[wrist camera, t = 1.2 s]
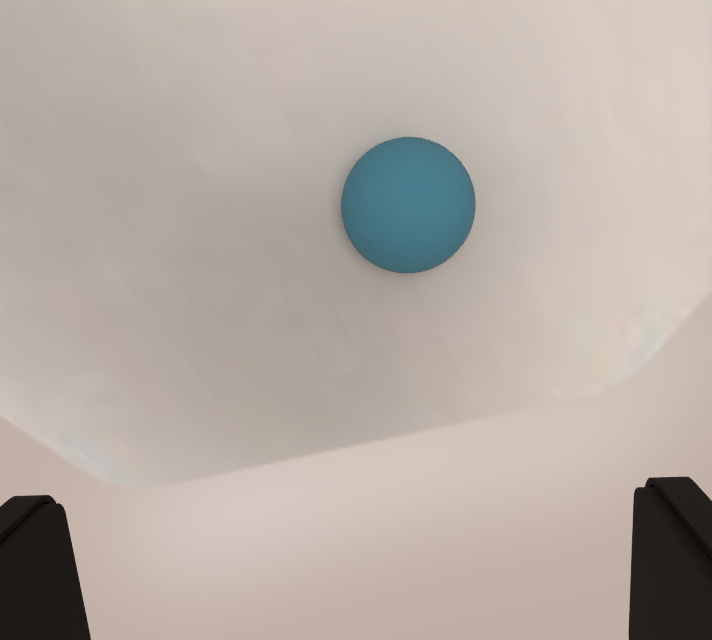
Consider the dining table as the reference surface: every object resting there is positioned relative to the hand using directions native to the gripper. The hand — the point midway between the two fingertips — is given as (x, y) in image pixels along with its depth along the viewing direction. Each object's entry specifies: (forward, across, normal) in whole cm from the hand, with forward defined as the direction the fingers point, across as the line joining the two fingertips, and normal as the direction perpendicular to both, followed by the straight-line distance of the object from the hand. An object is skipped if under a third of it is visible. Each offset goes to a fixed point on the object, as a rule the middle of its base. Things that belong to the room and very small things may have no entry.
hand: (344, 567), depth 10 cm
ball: (+20, -1, -4) cm, 20 cm away
